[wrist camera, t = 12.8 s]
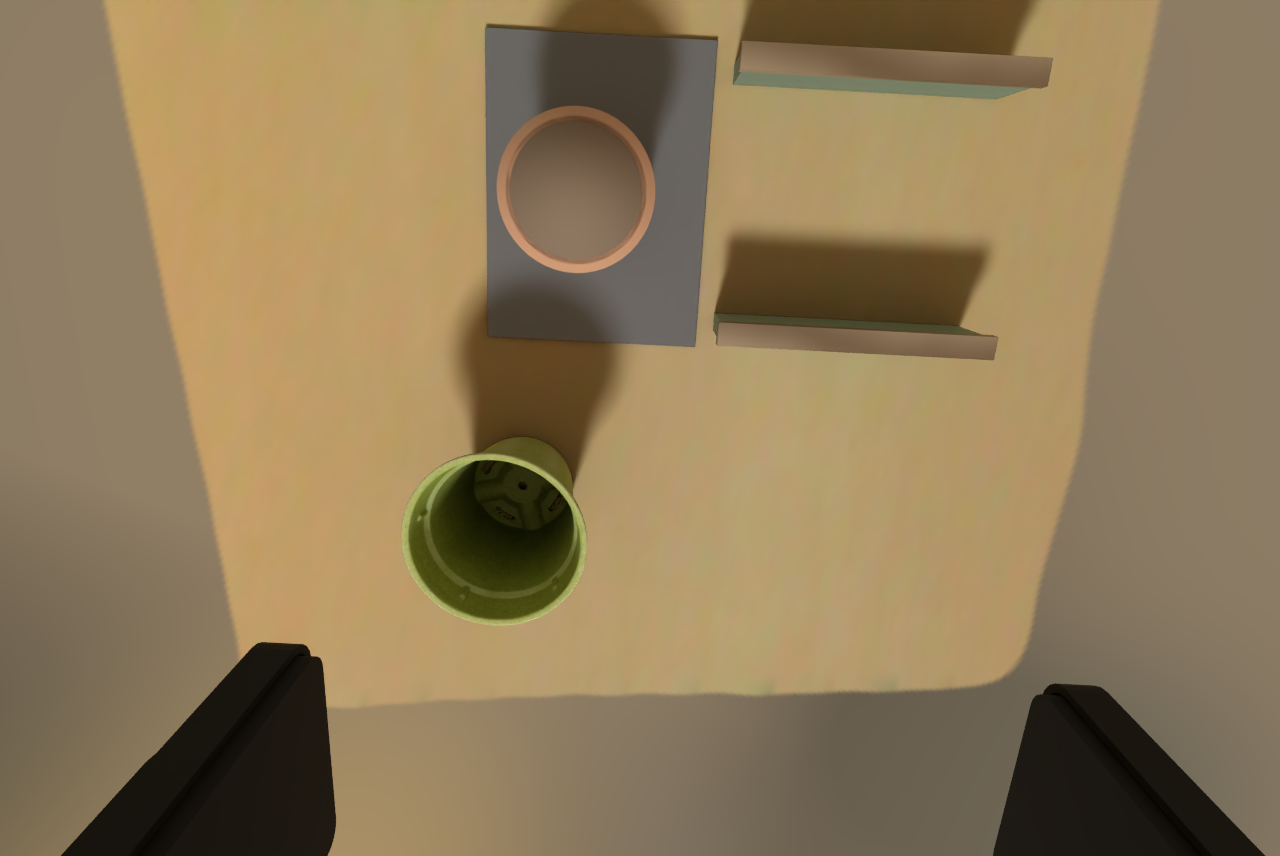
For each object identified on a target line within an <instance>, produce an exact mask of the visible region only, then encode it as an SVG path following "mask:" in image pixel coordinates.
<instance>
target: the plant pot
mask: <svg viewBox="0 0 1280 856" xmlns="http://www.w3.org/2000/svg"><path fill="white" fill-rule="evenodd" d="M489 460H496V461H495V463H494V464H493V465H492V467H491V469H490V472H489V473H488V474H485V472H484V467H485V465H486V464H487V463H488V461H489ZM520 482H524V483H526V485H527V488H526V489H524V490H522V489H520V488H519V486H518V485H519V483H520ZM558 494H561V496H562V498H561V501H560V504H559V505H558V507H557V508H556V509H555V510H553V511H551V512H550V511H549V507H550V506H551V505H552V504H553V503H554V501H555V500H556V498H557V497H558ZM497 507H499V508H501V509H502V510H503V511H504V512H506V513H507V514H509V515H512V516H514V517H515V519H513V520H510V519H507V518H505V517H504V516H502V515H500V514H499V513H498V512H497V510H496V508H497ZM401 538H402V547H403V552H404V556H405V560H406V564H407V567H408V568H409V571H410V573H411V575H412V576H413V578H414V580H415V581H416V583H417V584H418V586H419V587H420V588H421V589H422V590H423V592H424V593H425V594H426V595H427V596H428V597H429V598H430V599H431V600H432V601H433V602H435V603H436V604H437V605H438V606H440V607H441V608H443V609H444V610H446V611H448V612H449V613H451V614H453V615H455V616H457V617H459V618H462V619H465V620H468V621H471V622H475V623H480V624H485V625H497V626H501V625H514V624H519V623H524V622H528V621H531V620H534V619H536V618H539V617H541V616H543V615H545V614H547V613H548V612H550V611H552V610H553V609H554V608H556V607H557V606H558V605H559V604H561V603H562V602H563V601H564V600H565V599H566V598H567V597H568V596H569V594H570V593H571V592H572V590H573V589H574V588H575V586H576V584H577V582H578V580H579V579H580V577H581V574H582V572H583V569H584V565H585V561H586V554H587V534H586V527H585V523H584V519H583V516H582V513H581V511H580V508H579V506H578V504H577V503H576V501H575V499H574V498H573V484H572V477H571V473H570V470H569V468H568V465H567V463H566V462H565V460H564V459H563V457H562V456H561V455H560V454H559V453H558V452H557V451H556V450H555V449H554V448H553V447H551V446H550V445H548V444H546V443H545V442H543V441H540V440H537V439H534V438H530V437H514V438H508V439H504V440H501V441H499V442H497V443H495V444H493V445H492V446H490V447H489V448H487V449H486V450H484V451H483V452H481V453H474V454H469V455H464V456H461V457H458V458H455V459H453V460H451V461H448V462H446V463H444V464H443V465H441V466H440V467H438V468H436V469H435V470H434V471H433V472H431V473H430V474H429V475H428V476H427V477H426V478H425V479H424V480H423V481H422V482H421V483H420V484H419V485H418V487H417V488H416V489H415V491H414V493H413V494H412V496H411V498H410V500H409V502H408V504H407V507H406V510H405V513H404V517H403V522H402V534H401Z"/></svg>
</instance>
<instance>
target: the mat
mask: <svg viewBox="0 0 1280 856" xmlns="http://www.w3.org/2000/svg"><path fill="white" fill-rule="evenodd" d="M717 41H718V40H701V39H683V38H665V37H647V36H629V35H611V34H593V33H575V32H557V31H539V30H521V29H503V28H485V78H486V184H487V289H488V336H493V337H512V338H531V339H550V340H569V341H588V342H607V343H626V344H645V345H665V346H684V347H695V337H696V324H697V310H698V297H699V283H700V270H701V256H702V243H703V229H704V216H705V202H706V189H707V175H708V162H709V148H710V135H711V121H712V108H713V94H714V81H715V67H716V54H717ZM564 106H584V107H590V108H594V109H598V110H600V111H603V112H605V113H608V114H610V115H611V116H613V117H615V118H616V119H618V120H619V121H621V122H622V123H623V124H624V125H626V126H627V127H628V128H629V129H630V130H631V131H632V132H633V133H634V134H635V136H636V137H637V138H638V140H639V141H640V142H641V144H642V146H643V147H644V149H645V151H646V153H647V155H648V158H649V160H650V162H651V166H652V170H653V173H654V180H655V203H654V209H653V213H652V217H651V220H650V223H649V225H648V228H647V230H646V231H645V233H644V235H643V237H642V238H641V240H640V241H639V243H638V244H637V245H636V246H635V247H634V248H633V250H632V251H631V252H630V253H628V254H627V255H626V256H625V257H624V258H622V259H621V260H619V261H618V262H616V263H615V264H613V265H611V266H608V267H606V268H604V269H600V270H597V271H593V272H587V273H570V272H563V271H559V270H555V269H552V268H550V267H547V266H545V265H543V264H541V263H539V262H538V261H536V260H535V259H533V258H532V257H530V256H529V255H528V254H527V253H526V252H525V251H523V250H522V249H521V248H520V247H519V245H518V244H517V243H516V242H515V241H514V239H513V238H512V236H511V235H510V233H509V232H508V230H507V228H506V226H505V224H504V222H503V219H502V216H501V213H500V210H499V205H498V200H497V175H498V169H499V165H500V162H501V158H502V156H503V153H504V151H505V149H506V147H507V145H508V144H509V142H510V140H511V139H512V137H513V136H514V135H515V134H516V132H517V131H518V130H519V129H520V128H521V127H522V126H523V125H524V124H525V123H527V122H528V121H529V120H531V119H532V118H534V117H535V116H537V115H539V114H541V113H543V112H545V111H548V110H551V109H554V108H558V107H564Z"/></svg>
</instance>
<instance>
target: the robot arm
mask: <svg viewBox="0 0 1280 856" xmlns="http://www.w3.org/2000/svg"><path fill="white" fill-rule="evenodd" d="M335 827H336V813H335V802H334V790H333V778H332V766H331V755H330V744H329V731H328V720H327V708H326V696H325V684H324V673H323V665H322V661H321V659H320V658H319V657H313V656H311V655H310V651H309V649H308V647H307V646H305V645H303V644H286V643H267V642H261V643H257V644H256V645H255V646H254V647H252V648H251V649H250V650H249V652H248V653H247V654H246V655H245V656H244V657H243V658H242V659H241V660H240V661H239V663H238V664H237V665H236V666H235V667H234V668H233V669H232V670H231V672H230V673H229V674H228V675H227V676H226V677H225V678H224V679H223V680H222V681H221V682H220V684H219V685H218V686H217V687H216V688H215V689H214V690H213V692H211V694H210V695H209V696H208V697H207V698H206V699H205V700H204V701H203V702H202V703H201V705H200V706H199V707H198V708H197V709H196V710H195V711H194V712H193V713H192V714H191V716H190V717H189V718H188V719H187V720H186V721H185V722H184V723H183V724H182V726H181V727H180V728H179V729H178V730H177V731H176V732H175V733H174V735H173V736H172V737H171V738H170V739H169V740H168V741H167V742H166V743H165V744H164V746H163V747H162V748H161V749H160V750H159V751H158V752H157V753H156V754H155V755H154V756H152V757H151V758H150V759H149V760H148V761H147V762H146V763H145V764H144V765H143V766H142V767H141V768H140V769H139V770H138V772H137V773H136V774H135V775H134V776H133V777H132V778H131V779H130V780H129V781H128V783H127V784H126V785H125V786H124V787H123V788H122V789H121V790H120V791H119V792H118V793H117V795H116V796H115V797H114V798H113V799H112V800H111V801H110V802H109V804H107V806H106V807H105V808H104V809H103V810H102V811H101V812H100V813H99V814H98V815H97V817H96V818H95V819H94V820H93V821H92V822H91V823H90V824H89V825H88V827H87V828H86V829H85V830H84V831H83V832H82V833H81V834H80V835H79V836H78V838H77V839H76V840H75V841H74V842H73V843H72V844H71V845H70V846H69V847H68V849H66V851H65V852H64V853H63V854H62V855H61V856H327V855H328V853H329V851H330V848H331V846H332V842H333V839H334V834H335ZM993 856H1265V855H1264V854H1263V853H1262V852H1261V851H1260V850H1259V849H1258V848H1257V847H1256V846H1255V845H1254V844H1253V843H1252V842H1251V841H1250V840H1249V839H1248V838H1247V836H1245V834H1244V833H1243V832H1242V831H1241V830H1240V829H1239V828H1238V827H1237V826H1236V825H1235V824H1234V823H1233V822H1232V821H1231V820H1230V819H1229V818H1228V817H1227V816H1226V815H1225V814H1224V813H1223V812H1222V811H1221V810H1220V808H1219V807H1218V806H1217V805H1216V804H1215V803H1214V802H1213V801H1212V800H1211V799H1210V798H1209V797H1208V796H1207V795H1206V794H1205V793H1204V792H1203V791H1202V790H1201V789H1200V788H1199V787H1198V786H1197V785H1196V784H1195V783H1194V782H1193V780H1192V779H1191V778H1190V777H1189V776H1188V775H1187V774H1186V773H1185V772H1184V771H1183V770H1182V769H1181V768H1180V767H1179V766H1178V765H1177V764H1176V763H1175V762H1174V761H1173V760H1172V759H1171V758H1170V757H1169V756H1168V755H1167V753H1166V752H1165V751H1164V750H1163V749H1162V748H1161V747H1160V746H1159V745H1158V744H1157V743H1156V742H1155V741H1154V740H1153V739H1152V738H1151V737H1150V736H1149V735H1148V734H1147V733H1146V732H1145V731H1144V730H1143V729H1142V728H1141V727H1140V725H1139V724H1137V722H1136V721H1135V720H1134V719H1133V718H1132V717H1131V716H1130V715H1129V714H1128V713H1127V712H1126V711H1125V710H1124V709H1123V708H1122V707H1121V706H1120V705H1119V704H1118V703H1117V702H1116V701H1115V700H1114V699H1113V698H1112V697H1111V696H1110V694H1109V693H1108V692H1106V691H1105V690H1104V689H1102V688H1101V687H1097V686H1090V685H1072V684H1052V685H1049V686H1048V687H1047V688H1046V689H1045V690H1044V693H1043V695H1041V694H1040V695H1036V696H1035V697H1034V699H1033V700H1032V703H1031V706H1030V710H1029V714H1028V718H1027V722H1026V726H1025V730H1024V733H1023V738H1022V742H1021V745H1020V749H1019V753H1018V757H1017V761H1016V766H1015V769H1014V773H1013V777H1012V781H1011V785H1010V789H1009V793H1008V797H1007V801H1006V805H1005V808H1004V813H1003V817H1002V820H1001V825H1000V828H999V832H998V836H997V840H996V844H995V848H994V853H993Z"/></svg>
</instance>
